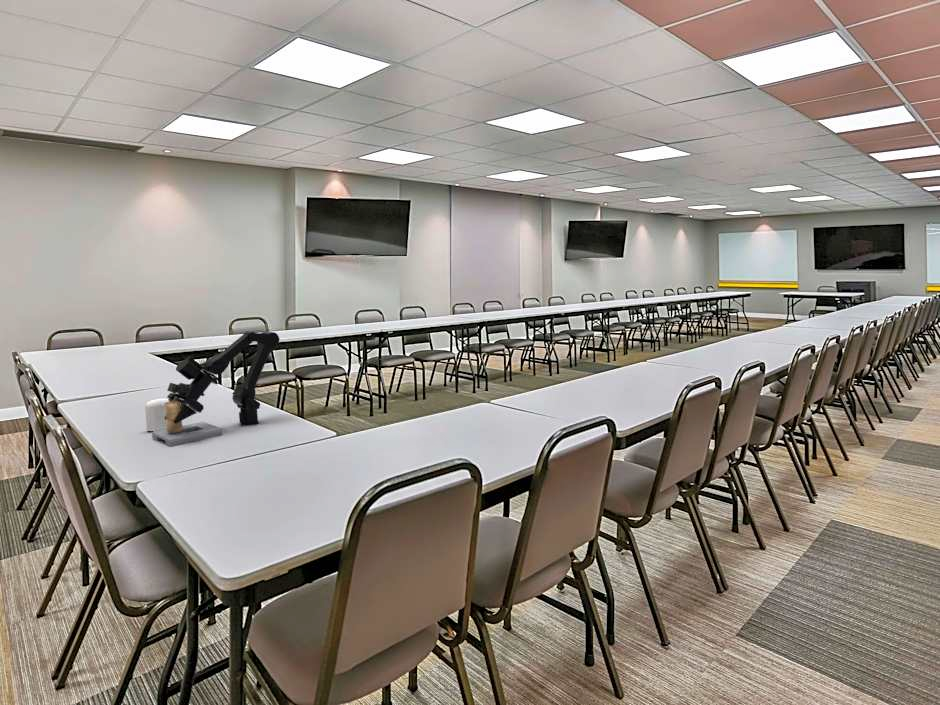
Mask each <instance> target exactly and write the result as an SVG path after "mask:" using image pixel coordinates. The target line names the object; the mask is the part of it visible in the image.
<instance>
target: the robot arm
mask: <svg viewBox="0 0 940 705" xmlns="http://www.w3.org/2000/svg"><path fill="white" fill-rule="evenodd" d="M254 342H255V343H256V353H255V354H254V357H253V360H252V362H251V364H250V366H249V369H248V371H247V373H246V375H245V378H244V381H243V382H242V383H240V384H241V385H239V384H236V385H235V387H234V391H233V392H232V393H231V395H232V398H231V399H232V401H233V403H234V404H236V406H237V409H238V408H239V410H240V411H238V417H239V418H238V419H239V420H238V422H239V424H241V426H247V425H248V426H249V425H258V424H259V418H258V410H259V409H260V407H261V402H259V401H257V400H256V399H255V397H256V393H257V392H256V386H257V383H258V381H259V379H260V376H261V374H262V371H263V369H264V367H265V364H266V362H267V360H268V357H269V356H270V354H271V353H273V351H274V350H275V349H276V347H277V346H278V344H279V342H280V336H279V335H278V333H276V332H273V331H261V332H254V331H250V330H249V331H244V332H243V334H242V335H241V336H240V337H239V338H237V339H236V340H235V341H234V342H232V344H230V345H229V346H228V347H227V348H225V349H223V351H221V352H220V353H218V354H217V353H216V354H215V355H213V356H210V358H207V359H206V360H204V362H202V363H198V362H197V361H195V360H194V358H193V357H192V356H187V358H185V359H184V360H182V361H180V362H179V363H178V364H177V366H176V367H175V370H176V372H178V373H179V374H180V375H182V376H183V377H184V378H185V379H187V380H191V382H190V383H189V384H188V383H183V382H180V383H178V384H176V383H173V382H170V383H169V384H168V388H167V392H170V393H169V394H168V395H167V396H166V397H167V398H166V399H168V400H169V401H180V406H181V410H180V412H179V413H178V415H177V416H176V418H175V420H174V421H173V422H174V423H175V424H176V423H178V422H180V421H182V422H183V420H185V419H188V418H189V417H192V416H193V415H196V414H198V413H202V411H203V410H204V405H203V404H202V403H201V402H200V401H198V400H199V399H200V398H201V397H204V396H205V393H204V392H206V390H207V389H208V388H209V387H210V385H211V384H214V385H218V383H219V382H218V377H217V376H218V375H222V374H223V373H224V372H226V369H227V368H228V367H229V365H230V363H231V361H233V360H234V358H236V357H237V356H238V355H239V354H241V353H242V352H243V351H244V350H245V349H246V348H247V347H248V346H250V345H251V344H252V343H254ZM203 371H204V372H203ZM212 375H216V376H212ZM165 420H166V416H165Z"/></svg>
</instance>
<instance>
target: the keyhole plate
mask: <svg viewBox="0 0 940 705" xmlns="http://www.w3.org/2000/svg"><path fill="white" fill-rule="evenodd" d="M182 430H183V431H182V432H179V433H177V434H172V433H167V429H164V430H159V431H153V432H151V437H152V438H154V439H153V440H155V439H156V440H155V441H159V440H158V439H161V440H163V441H165V445H166V444H167V445H166V446H168V445H169V446H168V447H170V446H171V447H174V446H173V445H175V446H178V445H177V444H180V445H183V444H182V443H184V444H188V442H189V443H192V441H193V442H196V441H197V440H198V441H201V440H206V439H211V438H215V437H220V436H223V434H224V432H223V428H222V427H219V426H216V425H214V424H210V423H208V422H205V421H200V422H194V423H190V424H185V425H182ZM198 441H197V442H198Z"/></svg>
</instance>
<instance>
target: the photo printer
mask: <svg viewBox="0 0 940 705" xmlns="http://www.w3.org/2000/svg"><path fill="white" fill-rule="evenodd" d="M168 399H169V398H157V399H152V400H149V401H147V402H146V403H145V406H144V407H145V409H144V410H145V421H146V422H145V423H146V431H153V432H154V431H159V430H164V429H167V422H166V420H165V416H166V411H165V403H166V402H169V400H168Z"/></svg>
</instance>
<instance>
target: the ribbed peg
mask: <svg viewBox="0 0 940 705" xmlns="http://www.w3.org/2000/svg"><path fill="white" fill-rule="evenodd" d="M180 410H181V406H180V401H169V402H166V403H165V411H166V422H167V433H172V434H177V433H179V432H182V431H183V430H182V426H183V420H182V421H180V422H178V423H176V424H175V423H174V422H173V421H174V420H175V418H176V416H177V415H178V413H179V412H180Z"/></svg>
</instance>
